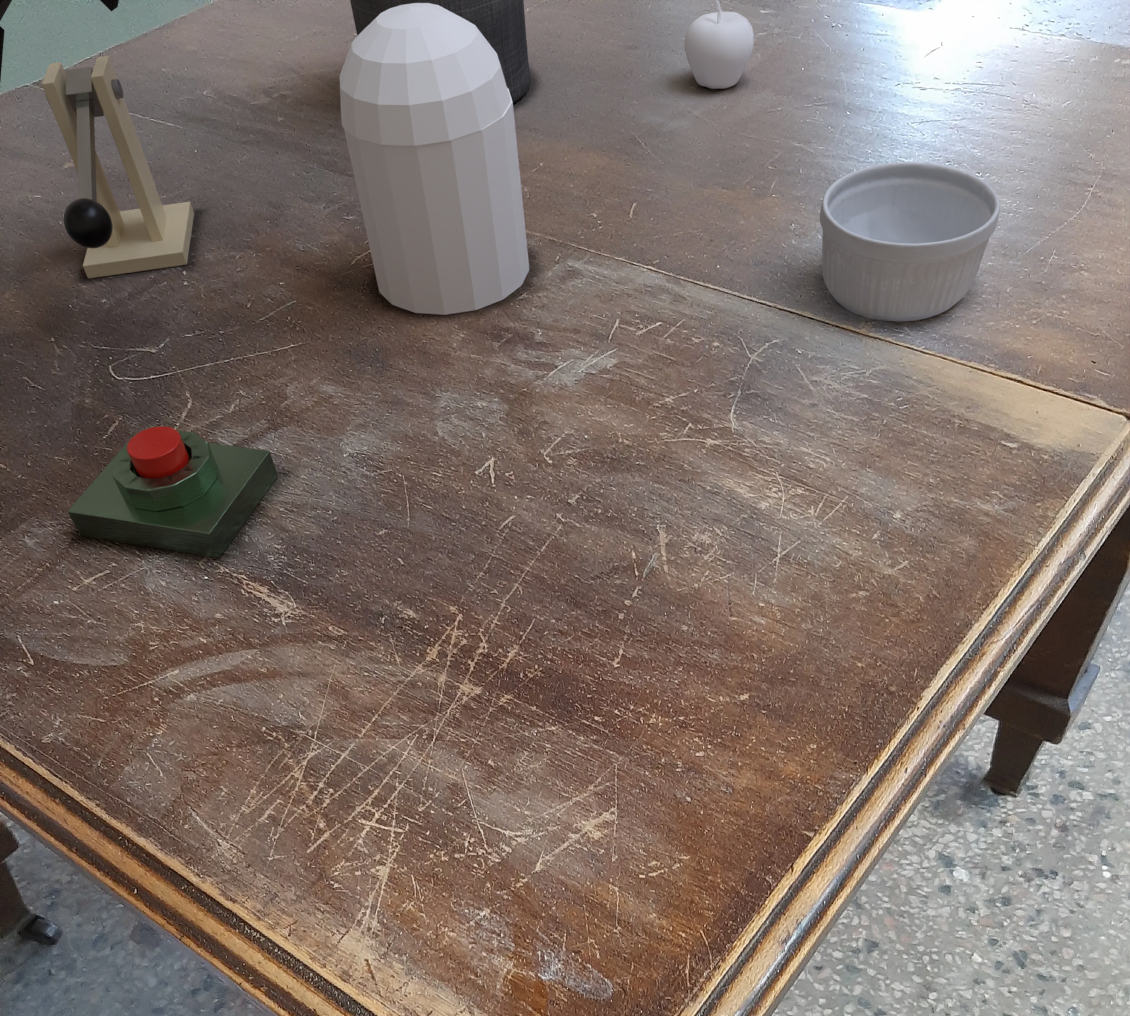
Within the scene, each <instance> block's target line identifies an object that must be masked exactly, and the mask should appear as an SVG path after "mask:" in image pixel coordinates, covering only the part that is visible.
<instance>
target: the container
mask: <svg viewBox="0 0 1130 1016" xmlns="http://www.w3.org/2000/svg"><path fill="white" fill-rule="evenodd" d="M346 54H347V55H346V57H345V60H344V63H343V66H342V68H341V71H340V74H339V96H340V97H339V98H340V99H339V102H340V121H341V122H340V123H341V127H342V128H343V132H344V136H345V141H346V145H347V150H348V154H349V155H348V156H349V159H350V163H351V168H352V173H353V177H354V182H355V185H356V191H357V196H358V200H359V201H358V202H359V205H360V209H361V215H362V218H363V223H364V228H365V233H366V237H367V241H368V247H369V252H370V256H371V259H372V260H371V261H372V265H373V269H374V274H375V278H376V284H377V288H378V292H379V294H380V295H382V297H384V298H385V300H387V302H389V303H390V304H391V305H392V306H395V307H397V308H399V309H403V310H406V311H409V312H412V313H415V314H426V315H427V314H428V315H439V316H440V315H441V316H447V315H453V314H454V315H455V314H459V313H466V312H473V311H477V310H480V309H483V308H485V307H488V306H491V305H493V304H496V303H498V302H501V301H503V300H505V299H506V298H507V297H509V296H510V295H511V294H512V293H514V292H516V291H517V290H518V289H520V287H522V286H523V284H524V282H525V280H526V278H527V276H528V274H529V272H530V260H529V252H528V242H527V241H528V240H527V232H526V231H527V230H526V221H525V213H524V212H525V211H524V201H523V191H522V181H521V172H520V162H519V152H518V142H517V132H516V122H515V112H514V103H513V102H512V98H511V95H510V92H509V89H508V88H507V86H506V82H505V79H504V75H503V72H502V68H501V65H500V62H499V59H498V55H497V53H496V52H495V50H494V49H493V48H492V47H491V45H490V44H489V43H488V41H487V40H486V39H485V37H484V36H483V35H482V33H481V32H480V31H479V30H478V28H477V27H476V26H475V25H474V24H472V23H471V22H469V21H467V20H465V19H464V18H462V17H460V16H458V15H456V14H454V13H452V12H450V11H448V10H447V9H445V8H443V7H441V6H439V5H435V4H430V3H412V4H405V5H400V6H396V7H393V8H390V9H388V10H386V11H384V12H382V13H380V14H379V15H378V16H377V17H376V18H375V19H374V20H373V21H372V22H371V23H370V24H369V25H368V26H367V27H366V28H365V29H364V30H363V31H362V32H361V33H360V34H359V35H358V36H357V35H356V37H355V38H354V39H353V41H351V43H350V46H349V50H348V52H347V53H346Z"/></svg>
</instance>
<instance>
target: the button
mask: <svg viewBox="0 0 1130 1016" xmlns="http://www.w3.org/2000/svg"><path fill="white" fill-rule="evenodd" d="M177 430H178V429H176V428H173V427H171V426H165V425H164V426H161V425H160V426H152V427H149V428H145V429H143V430H141V431H139V432H137V433H138V434H136V435H135V436H134V437H132V436H131V437H132V438H131V437H130V438H131V439H130V438H129V440H130V441H129V440H128V441H129V442H128V441H127V442H128V445H127V452H128V454H129V456H130V459H131V461H132V463H133V465H134V467H135V469H136V471H137V473H138V474H139V475H140V476H141V477H143V478H148V479H156V478H161V477H166V476H170V475H172V474H173V473H175V472H177V471H179V470H181V469H183V468H184V467H185V466H186V464H187V463H188V461H189V455H188V453H187V450H186V448H185V445H184V443H183V441H182V438H181V436H180V434H179V432H178V431H177Z"/></svg>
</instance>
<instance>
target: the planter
mask: <svg viewBox="0 0 1130 1016" xmlns="http://www.w3.org/2000/svg"><path fill="white" fill-rule="evenodd" d="M524 1H525V0H349V2H350V7H351V11H352V17H353V22H354V28H355V31H356V37H357V36H358V35H359V34H360V33H361V32H362V31H363V30H364V29H365V28H366V27H367V26H368V25H369V24H370V23H371V22H372V21H373V20H374V19H375V18H376V17H377V16H378V15H379V14H380V13H382V12H384V11H386V10H388V9H390V8H393V7H396V6H400V5H405V4H412V3H430V4H435V5H439V6H441V7H443V8H445V9H447V10H448V11H450V12H452V13H454V14H456V15H458V16H460V17H462V18H464V19H465V20H467V21H469V22H471V23H472V24H474V25H475V26H476V27H477V28H478V30H479V31H480V32H481V33H482V35H483V36H484V37H485V39H486V40H487V41H488V43H489V44H490V45H491V47H492V48H493V49H494V50H495V52H496V53H497V55H498V59H499V62H500V65H501V68H502V72H503V75H504V79H505V82H506V86H507V88H508V89H509V92H510V95H511V98H512V102H513V104H514V103H516V102H517V101H519V100H520V99H521V98H522V97H523V96H524V95H525V94H526V93H527V92H528V90H529V88H530V86H531V81H532V80H531V71H530V70H531V69H530V63H529V54H528V53H529V51H528V40H527V28H526V16H525V4H524V3H525V2H524Z"/></svg>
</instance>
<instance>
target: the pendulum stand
mask: <svg viewBox="0 0 1130 1016" xmlns="http://www.w3.org/2000/svg"><path fill="white" fill-rule="evenodd" d="M92 70H93V72H92V75H91V80H92V83H93V85H94V88H95V91H96V93H97V96H98V99H99V101H100V104H101V106H102V109H103V112H104V117H105V119H106V123H107V126H108V128H109V130H110V133H111V136H112V139H113V141H114V144H115V146H116V148H117V152H118V154H119V157H120V160H121V163H122V165H123V168H124V170H125V173H126V176H127V178H128V181H129V183H130V187H131V189H132V192H133V194H134V198H135V199H136V202H137V205H138V208H134V209H133V208H132V209H126V210H120V209H119V206H118V204H117V201H116V199H115V197H114V194H113V191H112V188H111V185H110V184H109V181H108V178H107V176H106V173H105V171H104V168H103V165H102V163H101V161H100V158H99V155H98V152H97V150H96V149H95V160H96V192H97V202H98V203H99V204H101V205H102V206H103V207H104V208H105V209H106V210H107V212H108V213H109V215H110V217H111V220H112V225H113V230H112V235H111V237H110V239H109V241H108V242H107V243H106V244H105V245H103V246H101V247H98V248H86V252H85V255H84V259H83V263H82V268H83V270H84V273H85V275H86V277H87V279H95V278H101V277H102V278H103V277H109V276H115V275H123V274H129V273H138V272H144V271H150V270H151V271H152V270H158V269H159V270H160V269H165V268H173V267H179V266H187V265H188V260H189V252H190V245H191V240H192V239H191V237H192V232H193V225H194V219H195V211H194V209H193V206H192V205H193V204H192V203H191V201H183V202H176V203H170V204H163V203H162V200H161V197H160V195H159V191H158V189H157V186H156V183H155V180H154V178H153V175H152V172H151V169H150V166H149V164H148V162H147V161H148V160H147V159H146V156H145V153H144V151H143V148H142V145H141V142H140V138H139V136H138V133H137V130H136V127H135V125H134V122H133V119H132V117H131V114H130V111H129V109H128V105H127V103H126V100H125V97H124V90H123V86H122V83H121V81H120V80H119V79H118V78H117V75H116V71H115V69H114V66H113V64H112V60H111V58H110V56H109V55H105V56H97V57H96V60H95V63H94V66H93V68H92ZM41 87H42V89H43V91H44V94H45V97H46V100H47V103H48V104H49V106H50V108H51V110H52V114H53V116H54V118H55V120H56V123H57V126H58V128H59V130H60V133H61V135H62V138H63V140H64V143H65V145H66V148H67V150H68V153H69V155H70V157H71V160H72V163H73V164H74V167H75V170H76V172H77V173H78V158H77V118H76V114H75V112H74V110H73V108H72V106H71V104H70V102H69V100H68V98H67V96H66V82H65V68H64V66H63V63H62V62H59V61H58V62H53V63H49V64H48V66H47V69H46V72H45V75H44V76H43V79H42V82H41Z"/></svg>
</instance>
